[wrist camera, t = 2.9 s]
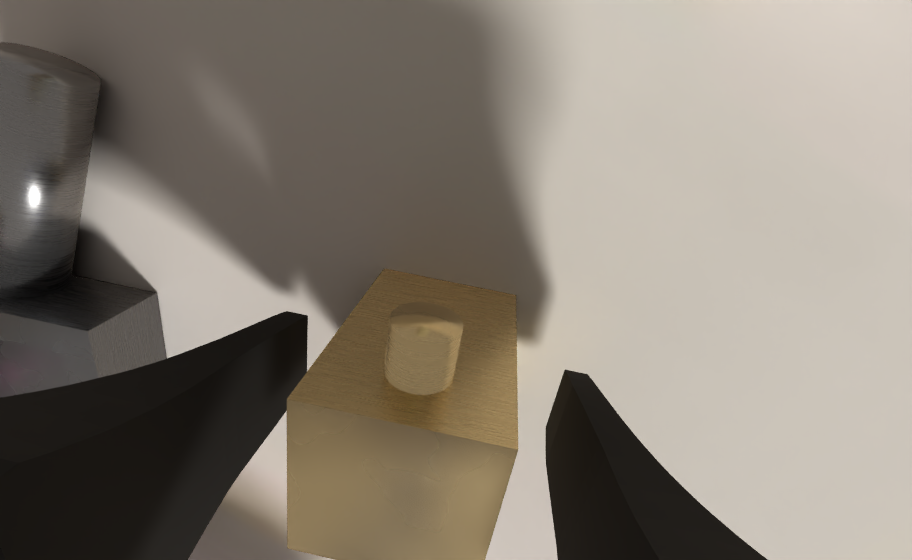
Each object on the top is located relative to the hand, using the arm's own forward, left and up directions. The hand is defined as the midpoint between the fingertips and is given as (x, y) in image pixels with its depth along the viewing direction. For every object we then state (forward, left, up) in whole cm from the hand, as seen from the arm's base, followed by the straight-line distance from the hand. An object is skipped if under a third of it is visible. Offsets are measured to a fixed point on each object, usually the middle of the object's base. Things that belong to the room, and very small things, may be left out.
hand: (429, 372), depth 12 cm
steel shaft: (+3, +12, -2) cm, 12 cm away
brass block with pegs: (0, 0, -2) cm, 2 cm away
